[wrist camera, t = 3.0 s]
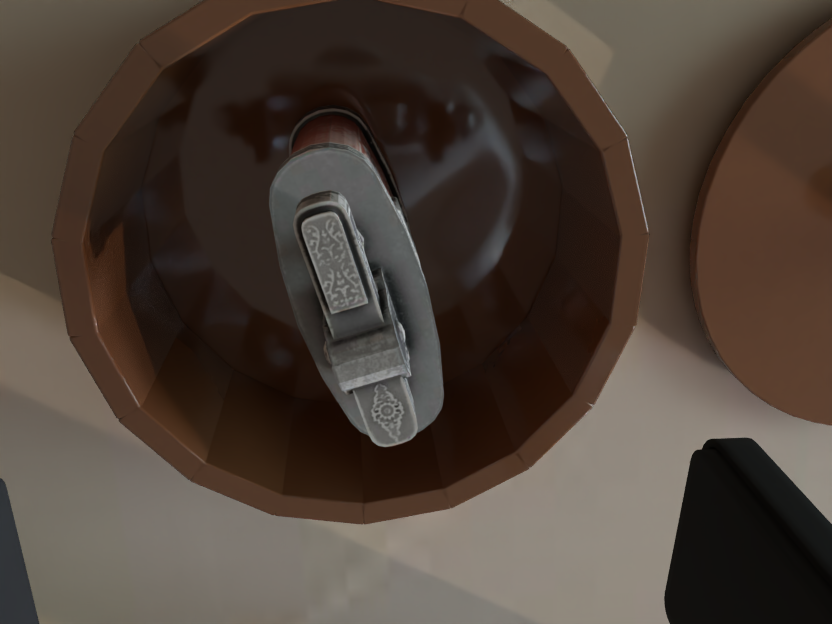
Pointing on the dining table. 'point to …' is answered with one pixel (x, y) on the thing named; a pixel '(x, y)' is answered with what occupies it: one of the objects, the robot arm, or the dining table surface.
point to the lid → (773, 237)
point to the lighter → (356, 276)
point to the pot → (429, 225)
